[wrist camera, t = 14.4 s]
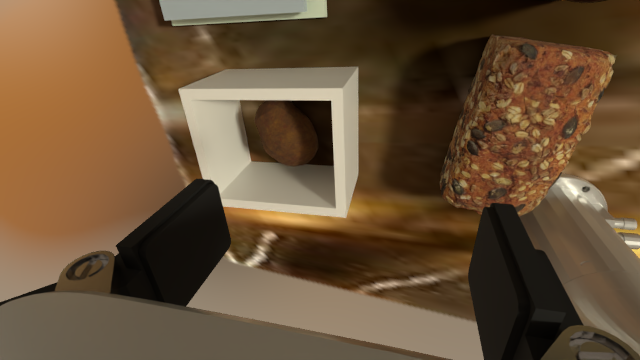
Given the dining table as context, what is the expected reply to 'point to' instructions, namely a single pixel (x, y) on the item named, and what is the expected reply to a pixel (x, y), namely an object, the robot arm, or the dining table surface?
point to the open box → (264, 177)
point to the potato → (286, 132)
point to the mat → (263, 15)
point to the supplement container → (581, 1)
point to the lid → (227, 8)
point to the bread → (522, 121)
